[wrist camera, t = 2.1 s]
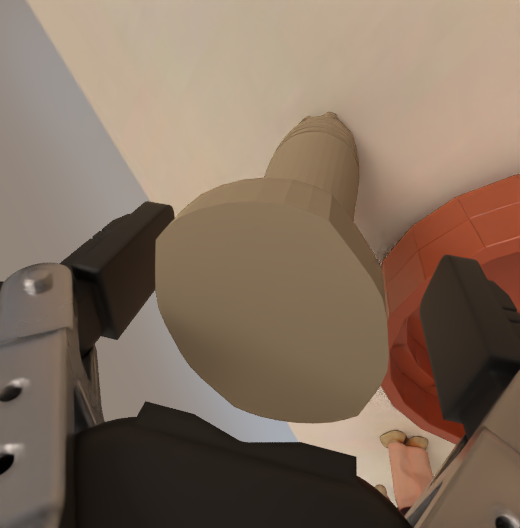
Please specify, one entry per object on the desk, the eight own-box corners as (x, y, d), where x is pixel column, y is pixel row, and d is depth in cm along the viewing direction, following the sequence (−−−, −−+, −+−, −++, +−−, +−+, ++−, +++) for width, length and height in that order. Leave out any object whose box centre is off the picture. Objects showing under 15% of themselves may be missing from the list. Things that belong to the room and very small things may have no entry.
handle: (292, 198, 22) (214, 415, 10) (269, 89, 18) (108, 219, 6) (371, 187, 20) (393, 430, 8) (362, 66, 17) (378, 180, 5)
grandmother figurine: (367, 443, 36) (372, 607, 26) (373, 424, 34) (380, 595, 24) (445, 459, 34) (483, 640, 24) (457, 440, 32) (503, 630, 22)
